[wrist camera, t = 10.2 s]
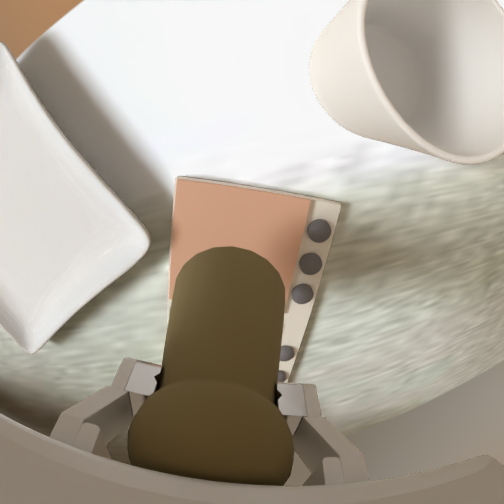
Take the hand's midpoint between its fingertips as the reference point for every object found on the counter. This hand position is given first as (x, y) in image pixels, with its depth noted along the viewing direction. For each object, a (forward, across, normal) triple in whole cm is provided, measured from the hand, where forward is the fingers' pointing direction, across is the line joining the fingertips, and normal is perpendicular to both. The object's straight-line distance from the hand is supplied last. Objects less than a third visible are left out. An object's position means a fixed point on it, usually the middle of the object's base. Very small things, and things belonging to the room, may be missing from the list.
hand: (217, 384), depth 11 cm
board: (+13, -1, +5) cm, 14 cm away
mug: (+13, -8, -14) cm, 21 cm away
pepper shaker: (+6, 0, 0) cm, 7 cm away
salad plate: (+13, +20, 0) cm, 24 cm away
